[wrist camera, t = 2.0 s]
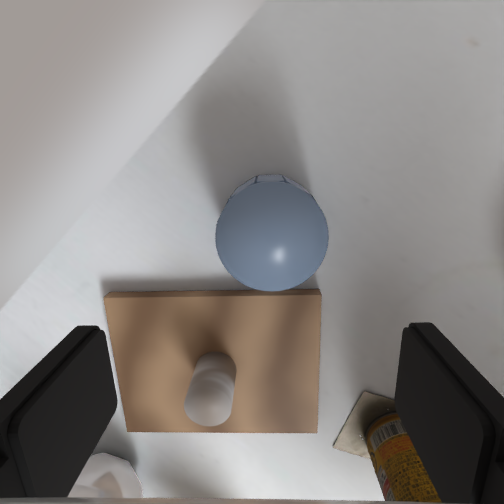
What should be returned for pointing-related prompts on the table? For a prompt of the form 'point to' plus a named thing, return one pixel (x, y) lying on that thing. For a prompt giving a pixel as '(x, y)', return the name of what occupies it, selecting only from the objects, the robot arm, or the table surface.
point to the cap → (271, 234)
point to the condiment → (387, 450)
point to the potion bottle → (107, 479)
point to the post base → (218, 327)
